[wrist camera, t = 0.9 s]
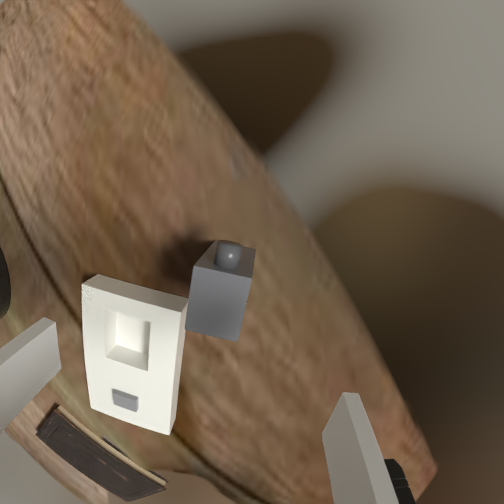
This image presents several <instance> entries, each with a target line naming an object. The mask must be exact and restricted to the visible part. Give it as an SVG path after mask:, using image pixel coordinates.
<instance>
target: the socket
mask: <svg viewBox="0 0 504 504" xmlns="http://www.w3.org/2000/svg"><path fill="white" fill-rule="evenodd" d="M188 299H189V298H185V297H181V296H177V295H173V294H169V293H165V292H161V291H157V290H154V289H150V288H146V287H142V286H139V285H135V284H131V283H128V282H124V281H120V280H117V279H113V278H110V277H106V276H103V275H100V274H97V275H96V276H94V277H92V278H91V279H89V280H87V281H86V282H84V283H82V324H83V342H84V355H85V365H86V374H87V383H88V390H89V397H90V404H91V408H93V409H95V410H97V411H100V412H102V413H105V414H107V415H110V416H112V417H115V418H118V419H120V420H123V421H126V422H129V423H132V424H134V425H137V426H140V427H143V428H146V429H150V430H153V431H156V432H159V433H163V434H166V435H170V432H171V429H172V426H173V424H174V421H175V418H176V408H177V398H178V389H179V379H180V370H181V362H182V354H183V346H184V338H185V329H184V328H185V320H186V313H187V306H188Z"/></svg>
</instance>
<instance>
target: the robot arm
mask: <svg viewBox="0 0 504 504" xmlns="http://www.w3.org/2000/svg"><path fill="white" fill-rule="evenodd" d="M9 304H10V281H9V275H8V270H7V266H6V263H5V260H4V257H3V254H2V251H1V249H0V318H2V317H3V316H4V315H5V314H6V313H7V311H8V308H9ZM60 369H61V363H60V356H59V349H58V341H57V332H56V322H54V321H52V320H50V319H47V318H45V317H43V318H42V319H41V320H39V321H38V322H36V323H35V324H33V325H32V326H31V327H29V328H28V329H26V330H25V331H24V332H22V333H21V334H19V335H18V336H17V337H15V338H14V339H13V340H11V341H10V342H9V343H7V344H6V345H4V346H3V347H2V348H0V434H1V433H2V431H3V430H4V429H5V428H6V427H7V426H8V425H9V424H10V422H11V421H12V420H13V419H14V418H15V417H16V416H17V415H18V414H19V412H20V411H21V410H22V409H23V408H24V407H25V406H26V405H27V404H28V403H29V402H30V401H31V400H32V398H33V397H34V396H35V395H36V394H37V393H38V392H39V391H40V390H41V389H42V388H43V387H44V386H45V385H46V384H47V383H48V382H49V381H50V380H51V379H52V377H53V376H54V375H55V374H56V373H57V372H58V371H59V370H60ZM322 439H323V444H324V449H325V455H326V460H327V465H328V471H329V476H330V482H331V488H332V494H333V499H334V504H416V503H415V500H414V498H413V495H412V493H411V490H410V488H409V487H408V486H409V485H408V482H407V480H406V479H405V478H406V477H405V474H404V472H403V469H402V467H401V466H400V465H399V464H398V463H397V462H396V461H395V460H394V459H383V457H382V454H381V451H380V448H379V446H378V443H377V440H376V438H375V435H374V432H373V430H372V427H371V424H370V422H369V419H368V417H367V414H366V412H365V409H364V406H363V404H362V401H361V399H360V396H359V394H358V393H346V392H343V393H342V395H341V397H340V399H339V401H338V403H337V405H336V407H335V409H334V411H333V413H332V415H331V417H330V419H329V421H328V423H327V425H326V426H325V428H324V430H323V432H322Z"/></svg>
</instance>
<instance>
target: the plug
mask: <svg viewBox="0 0 504 504" xmlns="http://www.w3.org/2000/svg"><path fill="white" fill-rule="evenodd" d="M255 252H256V249H252V248H247V247H242V245H241V244H239V243H236V242H232V241H227V240H219V241H214V242H213V244H212V245H211V246H210V247H209V248H208V249H207V251H206V252H205V253H204V254H203V255H202V256H201V258H200V259H199V260H198V261H197V262H196V263H195V265H194V267H193V273H192V279H191V286H190V292H189V299H188V306H187V313H186V320H185V328H184V329H185V330H189V331H193V332H197V333H201V334H205V335H209V336H214V337H218V338H222V339H227V340H231V341H236V342H238V338H239V333H240V329H241V324H242V320H243V315H244V311H245V307H246V302H247V298H248V293H249V289H250V284H251V280H252V274H253V267H254V259H255Z"/></svg>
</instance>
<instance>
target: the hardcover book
mask: <svg viewBox="0 0 504 504" xmlns="http://www.w3.org/2000/svg"><path fill="white" fill-rule="evenodd" d="M36 436H37V437H38V438H39V439H40V440H41V441H43V442H44V443H45V444H46V445H47V446H48V447H49V448H51V449H52V450H53V451H54V452H55V453H57V454H58V455H59V456H60V457H62V458H63V459H64V460H65V461H67V462H68V463H69V464H70V465H72V466H73V467H74V468H76V469H77V470H78V471H80V472H81V473H83V474H84V475H85V476H87V477H88V478H90V479H91V480H93V481H94V482H95V483H97V484H98V485H100V486H102V487H103V488H105V489H106V490H108V491H109V492H111V493H113V494H114V495H116V496H117V497H119V498H121V499H123V500H124V501H126V502H129V501H133V500H136V499H140V498H143V497H146V496H149V495H151V494H155V493H158V492H161V491H163V490H166V488H165V487H164V486H165V484H166V483H167V482H169V481H168V480H166V479H165V478H163V477H161V476H160V475H158V474H156V473H155V472H153V471H148V470H144V469H142V468H141V467H139V466H138V465H136V464H135V463H134V462H133V461H131V460H130V459H129V458H128V457H127V456H126V454H125V453H124V452H123V451H121V450H120V449H118V448H117V447H116V446H114V445H113V444H112V443H110V442H109V441H107V440H106V439H105V438H104V437H102V440H103V441H102V440H101V439H100V438H98V437H97V436H96V435H95V434H93V433H92V432H91V431H90V430H88V429H87V428H86V427H85V426H83V425H82V424H81V423H80V422H79V421H78V420H76V419H75V418H74V417H73V416H72V415H71V414H69V413H68V412H67V411H66V410H65V409H64V408H63V407H62V406H61V405H60V406H59V407H58V408H57V409H55V410H54V411H53V413H52V414H51V415H50V416H49V418H48V419H47V420H46V422H45V423H44V424H43V425H42V427H41V428H40V429H39V431H38V432H37V433H36Z"/></svg>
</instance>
